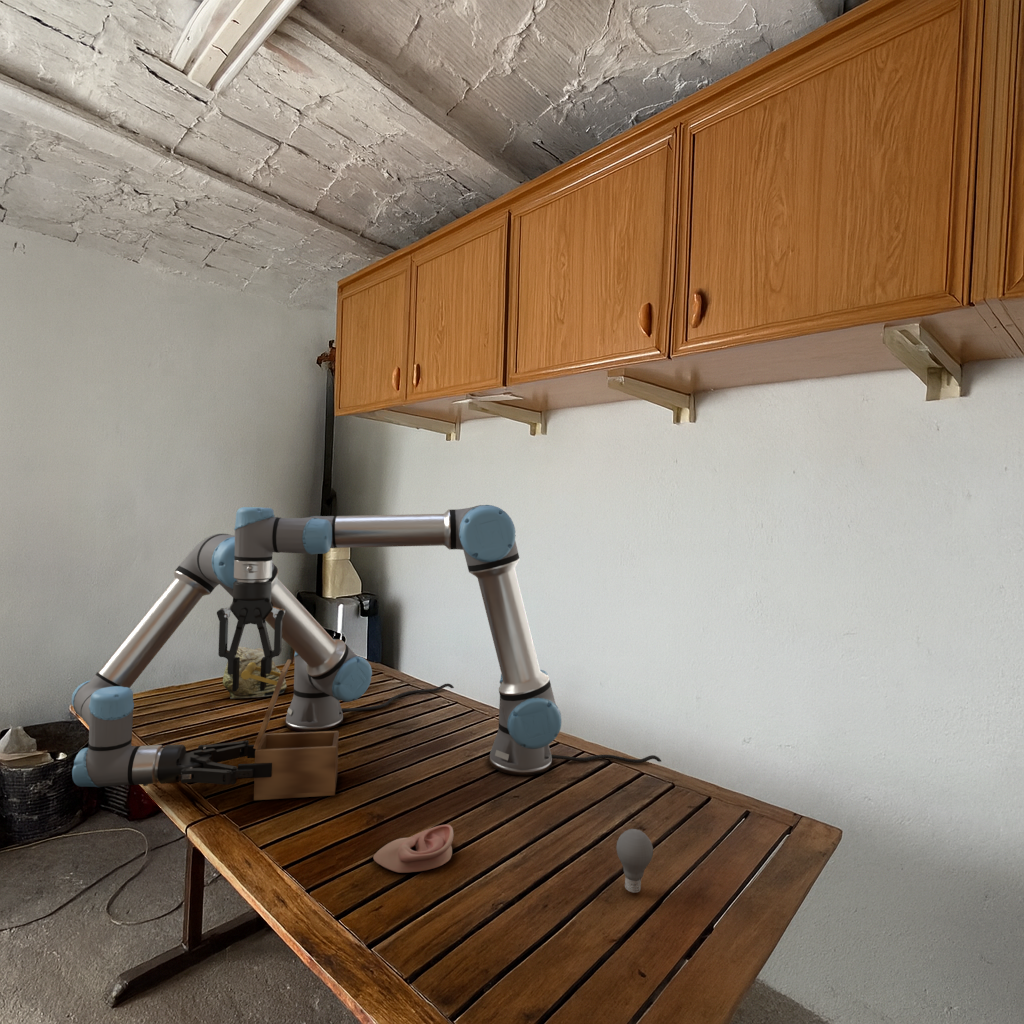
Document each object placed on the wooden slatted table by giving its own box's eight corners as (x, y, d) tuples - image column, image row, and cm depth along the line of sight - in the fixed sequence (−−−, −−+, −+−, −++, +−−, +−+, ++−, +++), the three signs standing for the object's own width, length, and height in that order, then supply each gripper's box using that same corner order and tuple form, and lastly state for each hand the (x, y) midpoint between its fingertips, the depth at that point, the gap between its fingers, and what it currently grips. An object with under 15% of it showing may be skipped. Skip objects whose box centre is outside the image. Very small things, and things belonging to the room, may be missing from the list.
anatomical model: (366, 844, 109) (392, 812, 120) (365, 867, 109) (391, 833, 120) (440, 856, 106) (459, 823, 117) (439, 880, 106) (458, 844, 117)
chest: (337, 775, 144) (338, 730, 144) (334, 795, 134) (336, 747, 134) (261, 780, 140) (263, 733, 140) (253, 800, 131) (255, 751, 131)
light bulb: (610, 879, 108) (613, 822, 108) (644, 879, 109) (647, 822, 109) (619, 902, 102) (622, 840, 102) (655, 901, 103) (658, 840, 103)
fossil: (218, 695, 195) (220, 647, 195) (278, 685, 208) (279, 640, 207) (228, 703, 189) (230, 653, 188) (289, 692, 201) (290, 645, 201)
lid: (291, 660, 141) (254, 649, 139) (285, 671, 132) (245, 660, 130) (264, 732, 140) (227, 722, 138) (257, 749, 131) (216, 738, 129)
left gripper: (177, 760, 142) (282, 756, 147) (141, 808, 121) (266, 801, 125) (178, 727, 142) (283, 724, 147) (143, 769, 121) (267, 763, 125)
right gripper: (202, 581, 129) (199, 695, 129) (294, 582, 132) (291, 693, 133) (211, 577, 136) (208, 684, 136) (298, 578, 140) (295, 682, 140)
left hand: (275, 759), depth 136 cm, fingers closed on chest, 10 cm apart
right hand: (249, 688), depth 135 cm, fingers open, 5 cm apart
